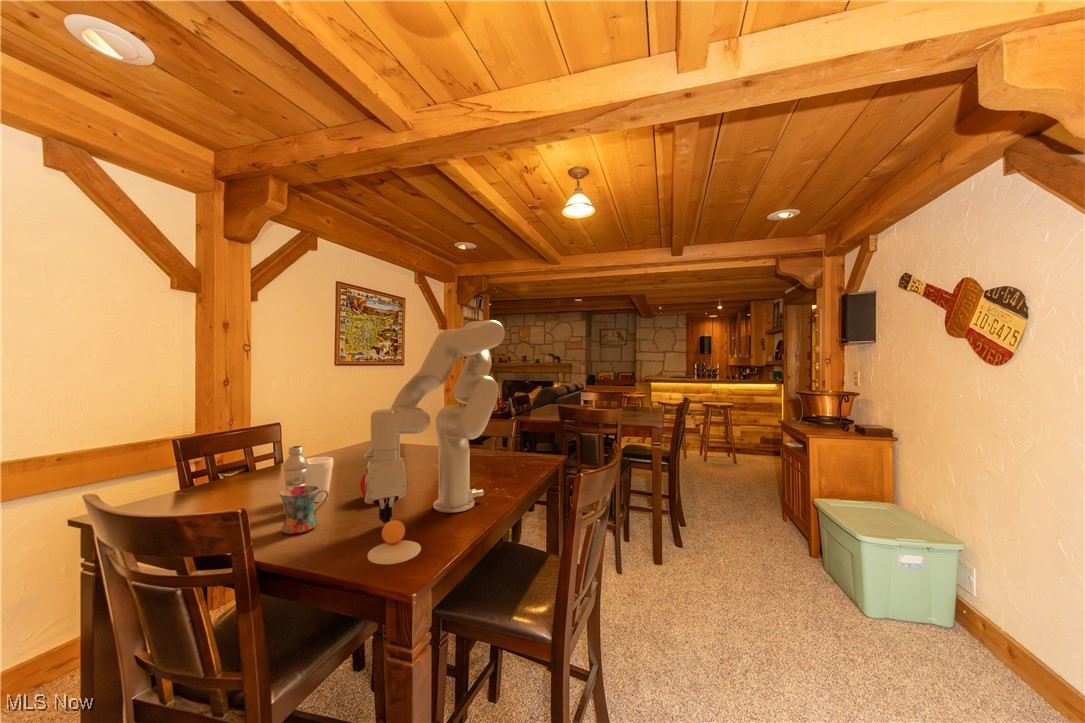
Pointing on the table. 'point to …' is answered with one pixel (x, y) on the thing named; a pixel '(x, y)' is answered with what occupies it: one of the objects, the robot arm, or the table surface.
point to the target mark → (394, 552)
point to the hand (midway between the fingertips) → (385, 521)
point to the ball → (393, 531)
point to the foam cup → (319, 475)
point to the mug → (300, 508)
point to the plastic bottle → (295, 468)
